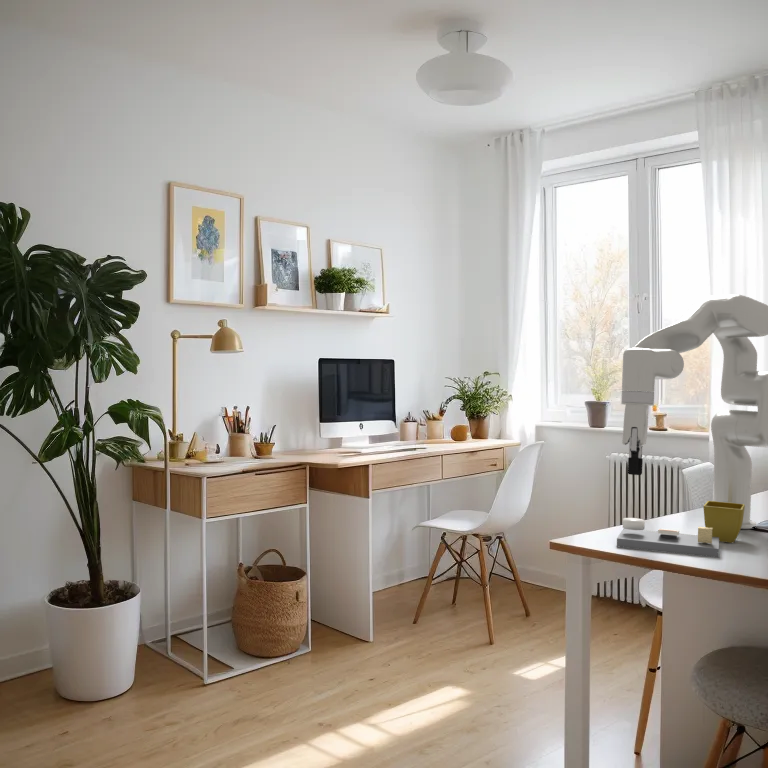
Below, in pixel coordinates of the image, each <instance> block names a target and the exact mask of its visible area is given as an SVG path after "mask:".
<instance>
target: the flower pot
mask: <svg viewBox="0 0 768 768" xmlns="http://www.w3.org/2000/svg"><path fill="white" fill-rule="evenodd" d="M702 507H703V518H704V527H708V528H712V537H719V543H720V542H721V543H727V544H728V543H729V544H734V543H735V542H736V539H737V538H738V535H739V534H740V531H741V530H742V529H741V526H742V522H743V516H744V509H745V504H738V503H727V502H717V501H713V500H707V501H706V503H704V504H703V506H702Z"/></svg>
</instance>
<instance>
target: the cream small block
mask: <svg viewBox="0 0 768 768" xmlns="http://www.w3.org/2000/svg"><path fill="white" fill-rule="evenodd" d="M697 535H698V542H703V543H712V528H708V527H705V526H698V527H697Z"/></svg>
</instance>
